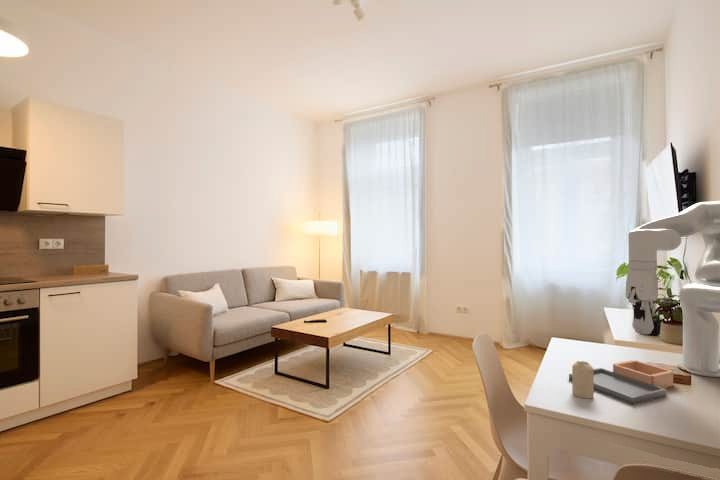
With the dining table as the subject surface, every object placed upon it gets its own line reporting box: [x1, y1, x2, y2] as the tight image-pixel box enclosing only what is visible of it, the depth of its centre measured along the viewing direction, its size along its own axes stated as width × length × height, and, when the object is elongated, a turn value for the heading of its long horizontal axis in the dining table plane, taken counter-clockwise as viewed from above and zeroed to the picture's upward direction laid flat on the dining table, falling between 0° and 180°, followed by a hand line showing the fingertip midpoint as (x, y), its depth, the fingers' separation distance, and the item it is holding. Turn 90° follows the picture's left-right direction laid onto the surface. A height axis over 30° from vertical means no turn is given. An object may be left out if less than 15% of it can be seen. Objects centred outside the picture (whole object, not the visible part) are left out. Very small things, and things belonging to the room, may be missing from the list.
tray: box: [568, 367, 667, 406], centre depth 115 cm, size 16×20×2 cm
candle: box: [571, 360, 595, 400], centre depth 110 cm, size 6×6×10 cm
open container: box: [612, 359, 674, 389], centre depth 121 cm, size 12×12×4 cm
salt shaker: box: [631, 298, 655, 335], centre depth 121 cm, size 6×6×13 cm
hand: (643, 320), depth 121 cm, fingers closed on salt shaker, 3 cm apart
